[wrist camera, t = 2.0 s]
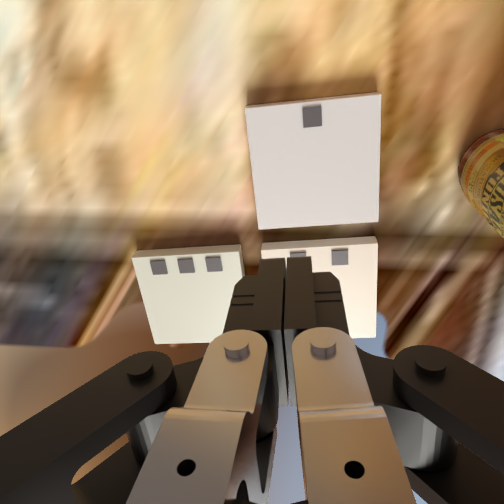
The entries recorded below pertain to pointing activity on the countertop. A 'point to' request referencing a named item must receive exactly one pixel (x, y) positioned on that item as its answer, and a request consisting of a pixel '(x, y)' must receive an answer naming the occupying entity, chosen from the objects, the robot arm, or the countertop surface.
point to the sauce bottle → (485, 177)
